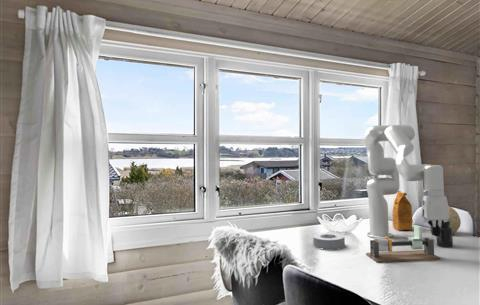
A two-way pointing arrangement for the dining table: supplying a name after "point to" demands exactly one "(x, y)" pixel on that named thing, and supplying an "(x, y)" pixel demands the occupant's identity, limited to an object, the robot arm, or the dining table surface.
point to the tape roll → (329, 240)
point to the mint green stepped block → (416, 238)
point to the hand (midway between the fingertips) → (435, 235)
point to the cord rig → (400, 256)
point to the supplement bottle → (445, 235)
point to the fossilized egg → (454, 220)
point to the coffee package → (402, 213)
